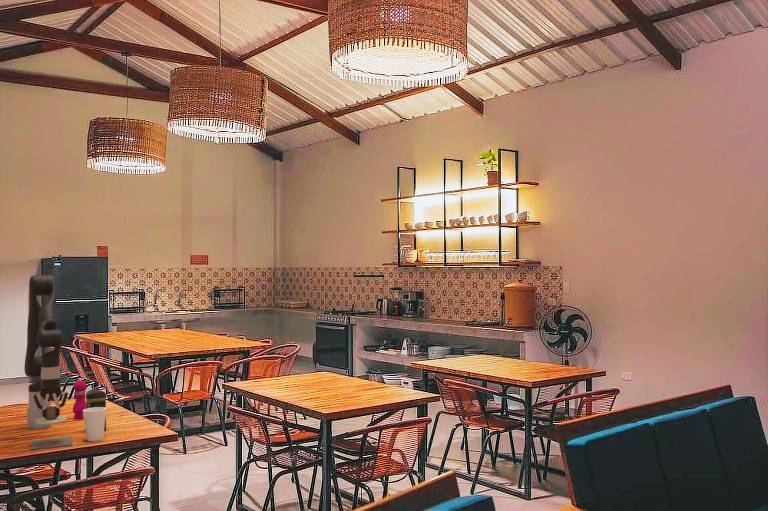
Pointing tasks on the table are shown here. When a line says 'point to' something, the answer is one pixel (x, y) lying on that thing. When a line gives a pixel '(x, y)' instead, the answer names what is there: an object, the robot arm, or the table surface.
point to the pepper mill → (79, 399)
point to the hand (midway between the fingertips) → (51, 417)
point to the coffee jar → (96, 400)
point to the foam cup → (94, 423)
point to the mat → (51, 443)
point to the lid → (51, 417)
